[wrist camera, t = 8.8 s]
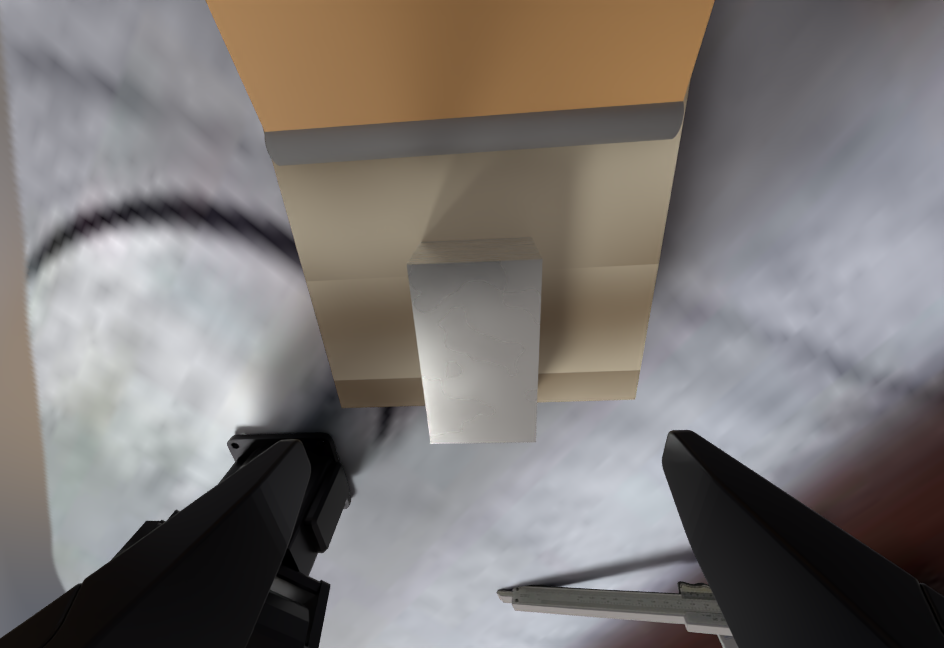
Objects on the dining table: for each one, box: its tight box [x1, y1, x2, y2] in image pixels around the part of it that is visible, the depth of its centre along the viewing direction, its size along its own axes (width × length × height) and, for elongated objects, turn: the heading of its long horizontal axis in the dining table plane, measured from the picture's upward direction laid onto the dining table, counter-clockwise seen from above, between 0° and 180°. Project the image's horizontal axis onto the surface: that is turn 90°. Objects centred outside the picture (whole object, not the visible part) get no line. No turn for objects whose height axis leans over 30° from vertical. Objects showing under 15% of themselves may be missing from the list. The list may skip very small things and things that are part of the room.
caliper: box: [497, 581, 733, 636], centre depth 26 cm, size 20×1×6 cm, turn 109°
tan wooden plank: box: [206, 0, 715, 166], centre depth 8 cm, size 6×11×1 cm, turn 93°
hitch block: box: [262, 78, 691, 408], centre depth 13 cm, size 16×12×5 cm
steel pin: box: [407, 237, 543, 444], centre depth 14 cm, size 4×6×7 cm, turn 3°
